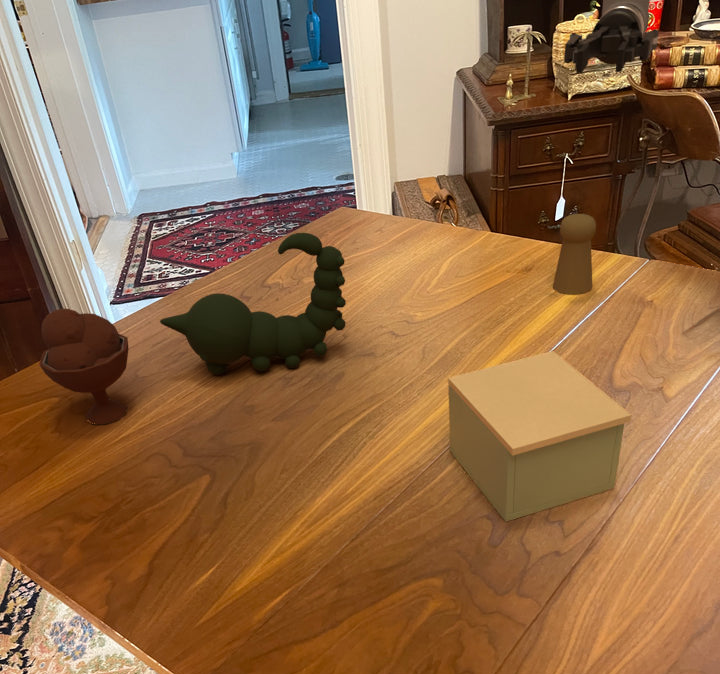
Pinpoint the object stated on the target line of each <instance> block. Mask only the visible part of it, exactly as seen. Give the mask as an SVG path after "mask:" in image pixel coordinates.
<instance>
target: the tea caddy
mask: <svg viewBox="0 0 720 674" xmlns="http://www.w3.org/2000/svg"><path fill="white" fill-rule="evenodd" d="M448 424H449V425H448V426H449V427H448V429H449V433H448V435H449V436H448V437H449V452H450V453H451V455H452V456H453V457H454V459H455V460H456V461H457V462H458V464H459V465H460V467H462V468H463V470H464V471H465V472H466V474H468V477H470V479H471V480H472V481H473V482H474V484H475V485H476V486H477V487H478V489H479V490H480V491H481V493H482V494H483V495H484V497H485V498H486V499H487V500H488V502H489V503H490V505H492V506H493V508H494V509H495V511H496V512H497V513H498V515H500V517H501V518H502V520H503V521H504V522H510V521H513V520H516V519H519V518H523V517H526V516H530V515H532V514H536V513H539V512H543V511H545V510H546V511H547V510H549V509H552V508H556V507H558V506H561V505H562V506H563V505H566V504H568V503H572V502H575V501H578V500H581V499H585V498H588V497H591V496H595V495H599V494H600V493H605V492H608V491H610V490H613V489H616V480H617V473H618V468H619V461H620V454H621V448H622V442H623V435H624V429H625V423H624V424H620V425H617V426H614V427H610V428H607V429H603V430H600V431H596V432H593V433H589V434H586V435H582V436H579V437H575V438H572V439H568V440H565V441H562V442H558V443H555V444H551V445H548V446H544V447H541V448H537V449H534V450H530V451H527V452H523V453H520V454H516V455H512V454H511V453H510V452H509V451H508V450H507V449H506V448H505V447H504V446H503V444H502V443H501V442H500V441H499V440H498V439H497V438H496V437H495V436H494V434H493V433H492V432H491V431H490V430H489V429H488V428H487V427H486V426H485V424H484V423H483V422H482V421H481V420H480V419H479V418H478V417H477V415H476V414H475V413H474V412H473V411H472V410H471V409H470V408H469V407H468V405H467V404H466V403H465V402H464V401H463V400H462V399H461V398H460V397H459V395H458V394H457V393H456V392H455V391H454V390H453V389H452V388H451V387H450V385H449V384H448Z"/></svg>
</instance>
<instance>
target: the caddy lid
mask: <svg viewBox="0 0 720 674" xmlns="http://www.w3.org/2000/svg"><path fill="white" fill-rule="evenodd" d="M447 383H448V385H450V387H451V388H452V389H453V390H454V391H455V392H456V393H457V394H458V395H459V397H460V398H461V399H462V400H463V401H464V402H465V403H466V404H467V405H468V407H469V408H470V409H471V410H472V411H473V412H474V413H475V414H476V415H477V417H478V418H479V419H480V420H481V421H482V422H483V423H484V424H485V426H486V427H487V428H488V429H489V430H490V431H491V432H492V433H493V434H494V436H495V437H496V438H497V439H498V440H499V441H500V442H501V443H502V444H503V446H504V447H505V448H506V449H507V450H508V451H509V452H510V453H511V454H512V455H516V454H520V453H523V452H527V451H530V450H534V449H537V448H541V447H544V446H548V445H551V444H555V443H558V442H562V441H565V440H568V439H572V438H575V437H579V436H582V435H586V434H589V433H593V432H596V431H600V430H603V429H607V428H610V427H614V426H617V425H620V424H624V425H625V424H627V423H630V422H631V420H632V414H631V413H630V412H628V410H626V409H625V408H624V407H622V406H621V404H619V403H617V401H616V400H614V399H612V397H611V396H609V395H608V394H607V393H606V392H604V391H603V390H601V389H600V388H599V387H598V386H597V385H596V384H594V383H593V382H592V381H591V380H590V379H588V378H587V377H586V376H584V375H583V374H582V373H581V372H580V371H578V370H577V369H576V368H575V367H574V366H572V365H571V364H570V363H569V362H568V361H566V360H565V359H564V358H563V357H561V356H560V355H559V354H558V353H556V351H554V350H550V351H546V352H543V353H539V354H538V353H537V354H535V355H531V356H527V357H523V358H520V359H516V360H512V361H508V362H504V363H500V364H496V365H493V366H488V367H484V368H481V369H477V370H473V371H469V372H465V373H461V374H458V375H453V376H451V377H450V376H449V377H447Z"/></svg>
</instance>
